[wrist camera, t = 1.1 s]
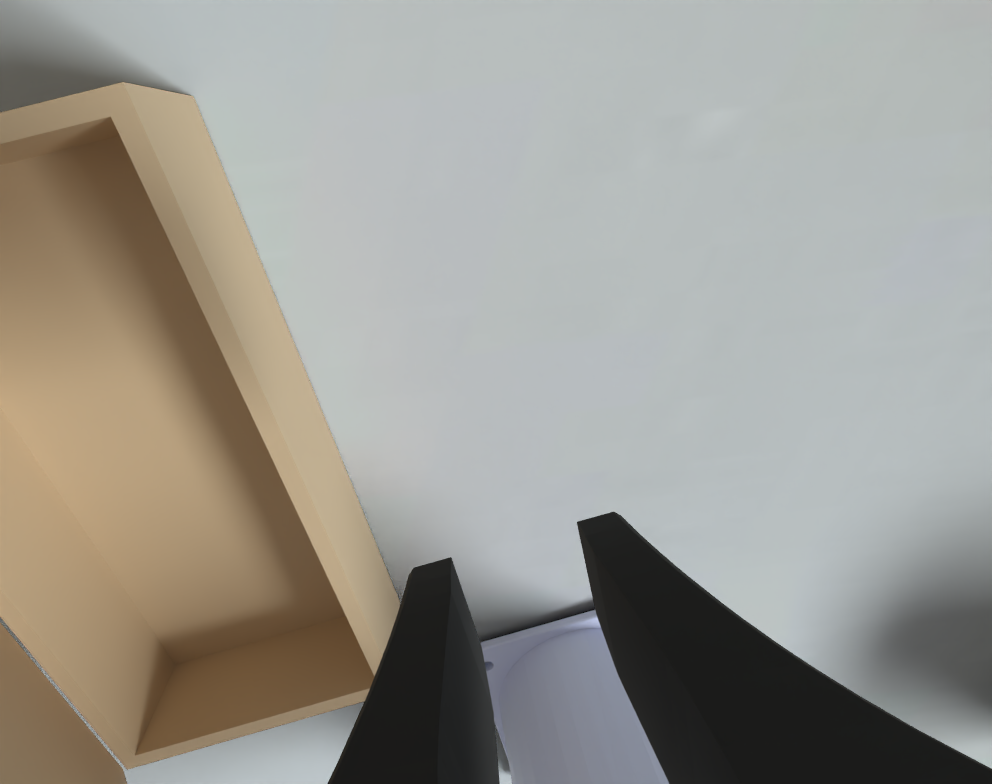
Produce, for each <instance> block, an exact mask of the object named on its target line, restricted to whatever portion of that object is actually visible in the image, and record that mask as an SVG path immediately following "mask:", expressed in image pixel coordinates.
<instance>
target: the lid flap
mask: <svg viewBox="0 0 992 784" xmlns="http://www.w3.org/2000/svg"><path fill="white" fill-rule="evenodd" d="M0 784H127V782H126V778H125V775H124V772H123V769H122V767H121V766H120V765H119V764H118V763H117V762H116V760H115V759H114V758H113V757H112V756H111V754H110V753H109V752H108V751H107V750H106V748H105V747H104V746H103V745H102V744H101V742H100V741H99V740H98V739H97V738H96V736H95V735H94V734H93V733H92V732H91V730H90V729H89V728H88V727H87V726H86V724H85V723H84V722H83V721H82V720H81V718H80V717H79V716H78V715H77V714H76V712H75V711H74V710H73V709H72V708H71V706H70V705H69V704H68V703H67V702H66V700H65V699H64V698H63V697H62V696H61V694H60V693H59V692H58V691H57V690H56V689H55V687H54V686H53V685H52V684H51V683H50V681H49V680H48V679H47V678H46V677H45V675H44V674H43V673H42V672H41V671H40V669H39V668H38V667H37V666H36V665H35V663H34V662H33V661H32V660H31V659H30V657H29V656H28V655H27V654H26V653H25V651H24V650H23V649H22V648H21V647H20V645H19V644H18V643H17V642H16V641H15V639H14V638H13V637H12V636H11V635H10V633H9V632H8V631H7V630H6V629H5V627H4V626H3V625H2V624H1V623H0Z"/></svg>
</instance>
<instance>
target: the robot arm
mask: <svg viewBox="0 0 992 784" xmlns="http://www.w3.org/2000/svg"><path fill="white" fill-rule="evenodd" d="M577 525H578V530H579V535H580V539H581V544H582V549H583V554H584V558H585V563H586V568H587V573H588V577H589V582H590V587H591V592H592V596H593V601H594V606H595V610H592V611H589V612H585V613H582V614H578V615H575V616H571V617H568V618H564V619H561V620H557V621H554V622H550V623H547V624H543V625H540V626H536V627H533V628H529V629H526V630H522V631H519V632H515V633H512V634H508V635H505V636H501V637H498V638H494V639H491V640H488V641H484V642H481V643H480V641H479V638H478V635H477V632H476V629H475V626H474V623H473V620H472V617H471V614H470V611H469V608H468V605H467V602H466V599H465V596H464V594H463V591H462V588H461V585H460V582H459V579H458V576H457V573H456V570H455V567H454V564H453V561H452V558H447V559H443V560H440V561H436V562H433V563H429V564H426V565H422V566H418V567H415V568H413V570H412V572H411V573H410V575H409V577H408V581H407V584H406V588H405V591H404V595H403V598H402V601H401V604H400V608H399V611H398V614H397V617H396V620H395V623H394V626H393V628H392V631H391V634H390V637H389V640H388V643H387V646H386V648H385V651H384V653H383V656H382V659H381V661H380V664H379V666H378V669H377V672H376V674H375V677H374V679H373V682H372V685H371V687H370V690H369V692H368V695H367V697H366V700H365V702H364V704H363V707H362V709H361V711H360V713H359V716H358V718H357V720H356V722H355V725H354V727H353V729H352V731H351V734H350V736H349V738H348V740H347V743H346V745H345V747H344V750H343V752H342V754H341V756H340V759H339V761H338V763H337V765H336V767H335V769H334V771H333V773H332V775H331V778H330V780H329V782H328V784H499V771H498V759H497V747H496V735H495V725H496V728H497V730H498V733H499V736H500V739H501V742H502V744H503V747H504V750H505V753H506V756H507V758H508V761H509V767H510V773H511V779H512V784H992V769H991V768H989V767H987V766H985V765H983V764H981V763H979V762H978V761H976V760H974V759H972V758H970V757H968V756H966V755H964V754H962V753H961V752H959V751H957V750H955V749H953V748H951V747H949V746H947V745H945V744H944V743H942V742H940V741H938V740H936V739H934V738H932V737H930V736H928V735H926V734H925V733H923V732H921V731H919V730H917V729H915V728H914V727H912V726H910V725H908V724H907V723H905V722H903V721H901V720H900V719H898V718H896V717H895V716H893V715H891V714H889V713H888V712H886V711H884V710H883V709H881V708H879V707H877V706H876V705H874V704H872V703H871V702H869V701H867V700H866V699H864V698H862V697H860V696H859V695H857V694H855V693H854V692H852V691H851V690H849V689H847V688H846V687H844V686H843V685H841V684H839V683H838V682H836V681H834V680H833V679H831V678H830V677H828V676H826V675H825V674H823V673H822V672H820V671H818V670H817V669H815V668H814V667H812V666H811V665H809V664H808V663H806V662H805V661H803V660H802V659H800V658H798V657H797V656H795V655H794V654H793V653H791V652H790V651H788V650H787V649H785V648H784V647H782V646H781V645H779V644H778V643H776V642H775V641H773V640H772V639H771V638H769V637H768V636H766V635H765V634H764V633H762V632H761V631H759V630H758V629H757V628H755V627H754V626H752V625H751V624H750V623H748V622H747V621H745V620H744V619H743V618H741V617H740V616H739V615H737V614H736V613H735V612H733V611H732V610H731V609H729V608H728V607H727V606H725V605H724V604H723V603H721V602H720V601H719V600H717V599H716V598H715V597H714V596H712V595H711V594H710V593H709V592H707V591H706V590H705V589H704V588H702V587H701V586H700V585H699V584H697V583H696V582H695V581H693V580H692V579H691V578H690V577H688V576H687V575H686V574H685V573H684V572H682V571H681V570H680V569H679V568H678V567H676V566H675V565H674V564H673V563H672V562H670V561H669V560H668V559H667V558H666V557H665V556H664V555H662V554H661V553H660V552H659V551H658V550H657V549H656V548H654V547H653V546H652V545H651V544H650V543H649V542H648V541H647V540H646V539H645V538H643V537H642V536H641V535H640V534H639V533H638V532H637V531H636V530H635V529H634V528H633V527H632V526H631V525H630V524H629V523H628V522H627V521H626V520H625V519H624V518H623V517H622V516H621V515H619V514H617V513H615V512H611V513H607V514H604V515H600V516H597V517H593V518H590V519H586V520H582V521H579V522H577ZM488 661H490V662H488ZM485 662H488V663H485ZM494 722H495V723H494Z"/></svg>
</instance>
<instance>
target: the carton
mask: <svg viewBox="0 0 992 784" xmlns="http://www.w3.org/2000/svg"><path fill="white" fill-rule="evenodd" d="M399 608H400V601H399V598H398V596H397V593H396V591H395V588H394V586H393V584H392V581H391V579H390V576H389V574H388V571H387V569H386V566H385V564H384V561H383V559H382V557H381V554H380V552H379V549H378V547H377V544H376V542H375V539H374V537H373V535H372V532H371V530H370V527H369V525H368V522H367V520H366V517H365V515H364V513H363V510H362V508H361V505H360V503H359V500H358V498H357V495H356V493H355V491H354V488H353V486H352V483H351V481H350V478H349V476H348V473H347V471H346V469H345V466H344V464H343V461H342V459H341V456H340V454H339V451H338V449H337V446H336V444H335V442H334V439H333V437H332V434H331V432H330V429H329V427H328V424H327V422H326V420H325V417H324V415H323V412H322V410H321V407H320V405H319V402H318V400H317V398H316V395H315V393H314V390H313V388H312V385H311V383H310V380H309V378H308V376H307V373H306V371H305V368H304V366H303V363H302V361H301V358H300V356H299V353H298V351H297V349H296V346H295V344H294V341H293V339H292V336H291V334H290V331H289V329H288V327H287V324H286V322H285V319H284V317H283V314H282V312H281V309H280V307H279V305H278V302H277V300H276V297H275V295H274V292H273V290H272V287H271V285H270V283H269V280H268V278H267V275H266V273H265V270H264V268H263V265H262V263H261V261H260V258H259V256H258V253H257V251H256V248H255V246H254V243H253V241H252V238H251V236H250V234H249V231H248V229H247V226H246V224H245V221H244V219H243V216H242V214H241V212H240V209H239V207H238V204H237V202H236V199H235V197H234V194H233V192H232V190H231V187H230V185H229V182H228V180H227V177H226V175H225V172H224V170H223V168H222V165H221V163H220V160H219V158H218V155H217V153H216V150H215V148H214V145H213V143H212V141H211V138H210V136H209V133H208V131H207V128H206V126H205V123H204V121H203V119H202V116H201V114H200V111H199V109H198V106H197V104H196V101H195V99H194V97H193V96H189V95H184V94H179V93H174V92H170V91H165V90H160V89H155V88H150V87H145V86H140V85H135V84H130V83H125V82H121V83H117V84H113V85H109V86H105V87H101V88H97V89H93V90H89V91H85V92H81V93H77V94H73V95H69V96H65V97H61V98H57V99H53V100H49V101H45V102H41V103H36V104H32V105H28V106H24V107H20V108H16V109H12V110H8V111H4V112H0V617H1V618H2V619H3V621H4V622H5V623H6V624H7V625H8V627H9V628H10V629H11V630H12V631H13V633H14V634H15V635H16V636H17V637H18V639H19V640H20V641H21V642H22V643H23V645H24V646H25V647H26V648H27V649H28V651H29V652H30V653H31V654H32V656H33V657H34V658H35V659H36V660H37V662H38V663H39V664H40V665H41V666H42V668H43V669H44V670H45V671H46V672H47V674H48V675H49V676H50V677H51V678H52V680H53V681H54V682H55V683H56V684H57V686H58V687H59V688H60V689H61V690H62V692H63V693H64V694H65V695H66V696H67V698H68V699H69V700H70V701H71V702H72V704H73V705H74V706H75V707H76V708H77V710H78V711H79V712H80V713H81V715H82V716H83V717H84V718H85V719H86V721H87V722H88V723H89V724H90V725H91V727H92V728H93V729H94V730H95V731H96V733H97V734H98V735H99V736H100V737H101V739H102V740H103V741H104V742H105V743H106V745H107V746H108V747H109V748H110V749H111V751H112V752H113V753H114V754H115V755H116V757H117V758H118V759H119V760H120V761H121V763H122V764H123V765H124V766H125V767H126V769H127V770H128V769H131V768H134V767H138V766H141V765H145V764H148V763H152V762H155V761H159V760H162V759H166V758H169V757H173V756H176V755H180V754H183V753H187V752H190V751H194V750H197V749H201V748H204V747H207V746H211V745H214V744H218V743H221V742H225V741H228V740H232V739H235V738H239V737H242V736H246V735H249V734H253V733H256V732H260V731H263V730H267V729H270V728H274V727H277V726H281V725H284V724H287V723H291V722H294V721H298V720H301V719H305V718H308V717H312V716H315V715H319V714H322V713H326V712H329V711H333V710H336V709H340V708H343V707H347V706H350V705H354V704H357V703H360V702H364V701H365V700H366V697H367V695H368V692H369V690H370V687H371V685H372V682H373V679H374V677H375V674H376V672H377V669H378V666H379V664H380V661H381V659H382V656H383V653H384V651H385V648H386V646H387V643H388V640H389V637H390V634H391V631H392V628H393V626H394V623H395V620H396V617H397V614H398V611H399Z"/></svg>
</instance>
